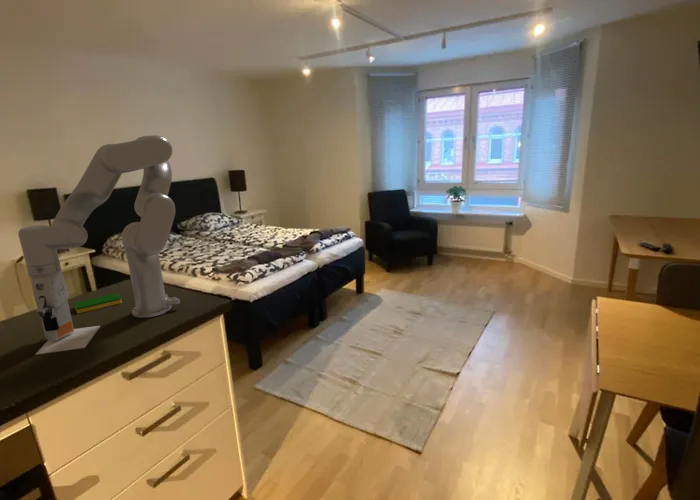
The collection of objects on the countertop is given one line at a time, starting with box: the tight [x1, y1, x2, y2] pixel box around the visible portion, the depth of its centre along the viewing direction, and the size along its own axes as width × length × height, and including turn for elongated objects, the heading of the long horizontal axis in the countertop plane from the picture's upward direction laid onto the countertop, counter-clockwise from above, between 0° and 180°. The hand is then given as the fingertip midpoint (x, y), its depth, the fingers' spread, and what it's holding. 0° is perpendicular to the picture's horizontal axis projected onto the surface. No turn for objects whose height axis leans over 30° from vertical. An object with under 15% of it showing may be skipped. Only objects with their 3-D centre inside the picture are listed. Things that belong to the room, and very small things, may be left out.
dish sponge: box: [73, 292, 123, 314], centre depth 139 cm, size 7×14×2 cm, turn 130°
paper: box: [35, 325, 101, 356], centre depth 114 cm, size 12×14×1 cm
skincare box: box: [40, 296, 75, 340], centre depth 113 cm, size 6×4×12 cm
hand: (58, 323), depth 114 cm, fingers closed on skincare box, 7 cm apart
